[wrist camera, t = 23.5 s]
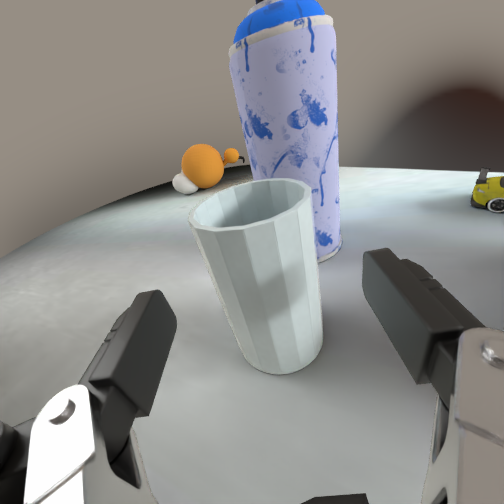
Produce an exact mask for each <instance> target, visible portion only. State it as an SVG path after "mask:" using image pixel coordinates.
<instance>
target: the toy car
mask: <svg viewBox="0 0 504 504" xmlns="http://www.w3.org/2000/svg"><path fill="white" fill-rule="evenodd" d="M488 170H490V168H484V167H481V170H480V175H479V178H478V179H477V181H476V185H475V187H474V190H473V192H472V193H473V195H472V198H471V206H475V207H483V208H485V205H486V203H487V202H488V209H489V210H490V211H493V212H502V211H504V207H502V206H503V205H504V176H500V177H491V178H486V176H487V173H488ZM492 204H493V206H492ZM496 207H497V208H499V209H497V208H496Z"/></svg>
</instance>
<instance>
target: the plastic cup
mask: <svg viewBox="0 0 504 504" xmlns="http://www.w3.org/2000/svg"><path fill="white" fill-rule="evenodd" d="M188 222H189V225H190V227H191V230H192V232H193V235H194V237H195V240H196V242H197V245H198V247H199V250H200V252H201V255H202V257H203V260H204V262H205V264H206V267H207V269H208V272H209V274H210V277H211V279H212V282H213V284H214V287H215V289H216V292H217V294H218V297H219V299H220V302H221V304H222V306H223V309H224V311H225V314H226V316H227V319H228V321H229V324H230V326H231V329H232V331H233V334H234V336H235V339H236V341H237V344H238V346H239V348H240V350H241V351H242V354H243V356H244V357H245V359H246V360H247V361H248V362H249V363H250V364H251V365H252V366H253V367H255V368H256V369H258V370H260V371H262V372H265V373H269V374H277V375H281V374H289V373H293V372H296V371H299V370H301V369H303V368H304V367H306V366H307V365H309V364H310V363H311V362H312V361H313V360H314V359H315V358H316V356H317V355H318V353H319V352H320V349H321V347H322V343H323V319H322V308H321V296H320V284H319V273H318V261H317V249H316V238H315V226H314V214H313V203H312V191H311V187H310V186H308V185H307V184H306V183H304V182H303V181H300V180H295V179H290V178H269V179H262V180H256V181H250V182H246V183H242V184H239V185H235V186H231V187H229V188H226V189H224V190H221V191H219V192H216V193H214V194H212V195H210V196H209V197H207V198H205V199H203V200H202V201H200V202H199V203H198V204H197V205H196V206H195V207H194V208H193V209H192V210H191V211H190V213H189V217H188Z"/></svg>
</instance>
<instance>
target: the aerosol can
mask: <svg viewBox="0 0 504 504" xmlns="http://www.w3.org/2000/svg"><path fill="white" fill-rule="evenodd" d="M229 57H230V64H229V68H230V72H231V77H232V82H233V86H234V91H235V95H236V100H237V105H238V109H239V114H240V119H241V123H242V127H243V132H244V137H245V141H246V146H247V151H248V155H249V160H250V165H251V169H252V174H253V179H254V181H256V180H262V179H269V178H290V179H295V180H300V181H303V182H304V183H306V184H307V185H308V186H310V187H311V191H312V203H313V214H314V226H315V238H316V249H317V261H318V262H322V261H325V260H326V259H328V258H330V257H332V256H334V255H335V254H336V253H337V252H338V251H339V250H340V248H341V245H342V236H341V233H340V207H339V160H338V113H337V65H336V33H335V30H334V28H333V19H332V17H330V16H329V15H325V13H324V10H323V9H322V7H321V6H320V5H319V3H318V2H316V1H315V0H256V5H255V6H254V7H252V8H251V9H250V10H249V12H248V14H247V17H246V18H245V19H244V20H243V21H242V22H241V24H240V25H239V26H238V28H237V31H236V35H235V38H234V45H232V46H231V47H230V50H229Z"/></svg>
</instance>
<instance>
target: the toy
mask: <svg viewBox="0 0 504 504" xmlns="http://www.w3.org/2000/svg"><path fill="white" fill-rule="evenodd" d="M239 157H240V158H239ZM224 158H225V159H224V161H223V160H222V157H221V155H220V154H219V153H218V151H217V150H215V149H214V148H213V147H211V146H209V145H206V144H197V145H194V146H192V147H190V148H189V149H188V150H187V151H186V152H185V154H184V156H183V159H182V173H180V174H178V175H176V176H175V177H174V179H173V186H174V188H175V189H176V190H177V191H178V192H180V193H183V194H191V193H194V192H196V191H197V190H198V188H210V187H212V186H214V185H216V184H217V183H218V182H219V181H220V179H221V178H222V175H223V171H224V166H225V165H226V164H227V163H235V162H236V161H237V160H238V159H243V163H244V161H245V160H244V157H241V156H239V154H238V152H237V150H235V149H234V148H229V149H227V150H226V151H225V153H224Z"/></svg>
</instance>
